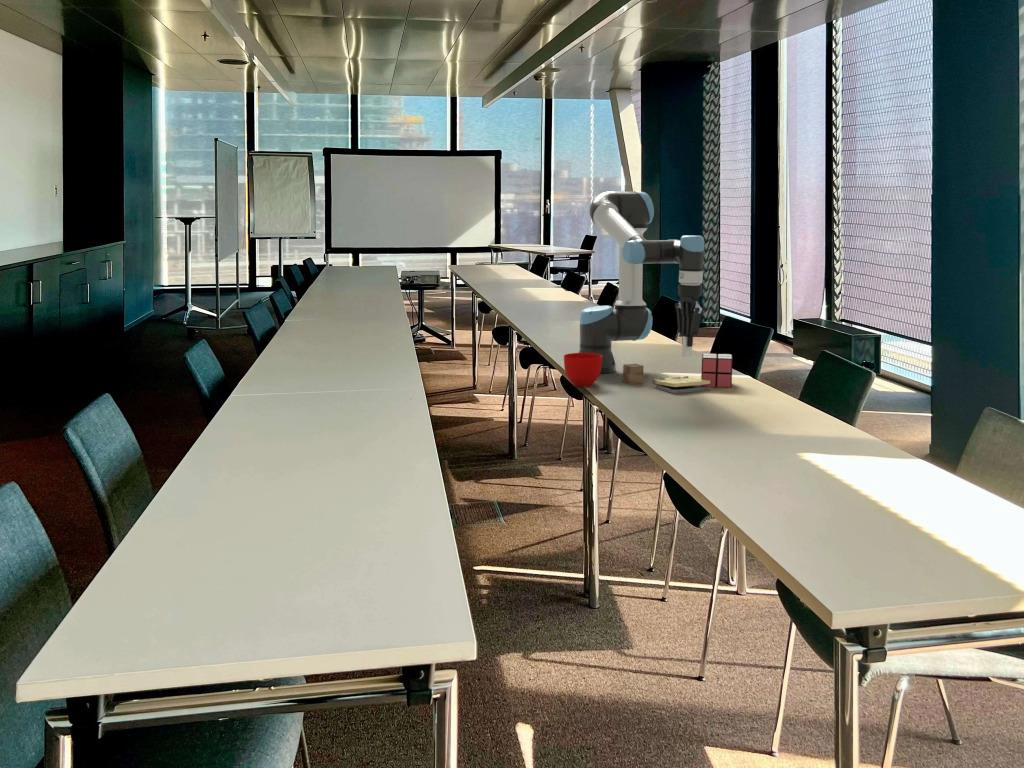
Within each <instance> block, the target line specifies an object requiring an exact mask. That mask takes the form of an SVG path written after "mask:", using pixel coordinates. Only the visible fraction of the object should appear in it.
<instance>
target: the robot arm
mask: <svg viewBox="0 0 1024 768" xmlns="http://www.w3.org/2000/svg"><path fill="white" fill-rule="evenodd" d="M654 209H655V208H654V203H653V199H652V198H651V197H650V195H649V194H648V193H647V192H644V191H638V190H637V191H636V190H633V191H630V190H627V191H622V190H621V191H616V190H615V191H612V190H611V191H609V190H608V191H603V192H601V193H599V194H598V195H597V196H595V197H594V199H593V200H592V202H591V204H590V207H589V217H590V219H591V221H592V222H593V224H594V225H595V226H596V227H597V228H599V229H603V230H604V231H605V232H606V233H607V234H608V235H609V236H610V237H611V238H612V239H613V240H614V241H615V242H616V243H617V244H618V245H619V246H618V247H619V249H618V252H619V253H618V261H619V262H618V300H617V301H616V302H615V303H614V308H613V307H612V306H611V305H594V306H589V307H586V308H584V309H582V310H581V312H580V314H579V315H580V317H579V349H578V353H593V354H599V355H602V367H601V372H600V374H608V373H609V374H610V373H614V372H616V371H617V370H616V369H617V364H616V361H615V358H614V354H613V351H612V342H623V341H625V342H626V341H633V342H635V341H640V340H644V339H646V338H648V336H649V335H650V333H651V332H652V331H651V330H652V327H653V315H652V311H651V310H650V309H649V308H648V307H647V303H646V302H645V301H644V300H643V277H644V276H643V274H644V273H643V268H644V267H643V264H679V266H678V267H679V271H678V272H679V273H678V283H679V284H678V286H677V289H678V290H677V295H678V296H679V297H680V299H679V302H678V303H674V307H675V310H676V321H677V330H678V331H677V333H679V334H681V336H682V338H681V339H682V341H681V345H682V349H681V350H682V352H681V356H682V357H684V358H685V357H692V355H693V345H694V343H693V342H694V337H695V336H698V334H699V330H700V325H701V322H702V315H703V313H704V311H705V308H704V307H703V306H702V307H701V306H700V301H699V300H700V299H699V297H701V296H702V295H703V294H702V293H703V286H702V283H703V278H704V277H703V275H704V274H703V273H704V256H705V255H704V254H705V238H704V237H703V236H702V235H693V234H692V235H690V234H689V235H686V234H685V235H682V236H681V237H680V239H676V238H675V239H672V238H671V239H667V240H666V239H665V240H664V239H662V240H661V239H659V240H657V239H656V240H655V239H654V240H653V239H650V240H649V239H646V238H645V237H644V233H645V232H646V231H647V230H648V225H649V224H650V225H651V223H652V222H653V219H654V215H655V210H654Z"/></svg>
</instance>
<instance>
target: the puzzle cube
mask: <svg viewBox="0 0 1024 768" xmlns="http://www.w3.org/2000/svg"><path fill="white" fill-rule="evenodd" d="M700 379H703V380H710V384H703V385H705V386H709V387H710V388H719V389H721V388H722V389H731V388H732V384H733V355H732V354H730V353H718V354H717V353H702V355H701V376H700Z"/></svg>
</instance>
